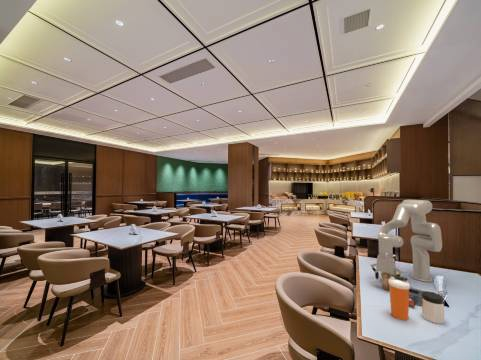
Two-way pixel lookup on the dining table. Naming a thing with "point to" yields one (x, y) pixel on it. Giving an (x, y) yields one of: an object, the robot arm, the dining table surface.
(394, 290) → the shaker bottle
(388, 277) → the pipe stub
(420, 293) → the valve body
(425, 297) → the jar
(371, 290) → the dining table surface
